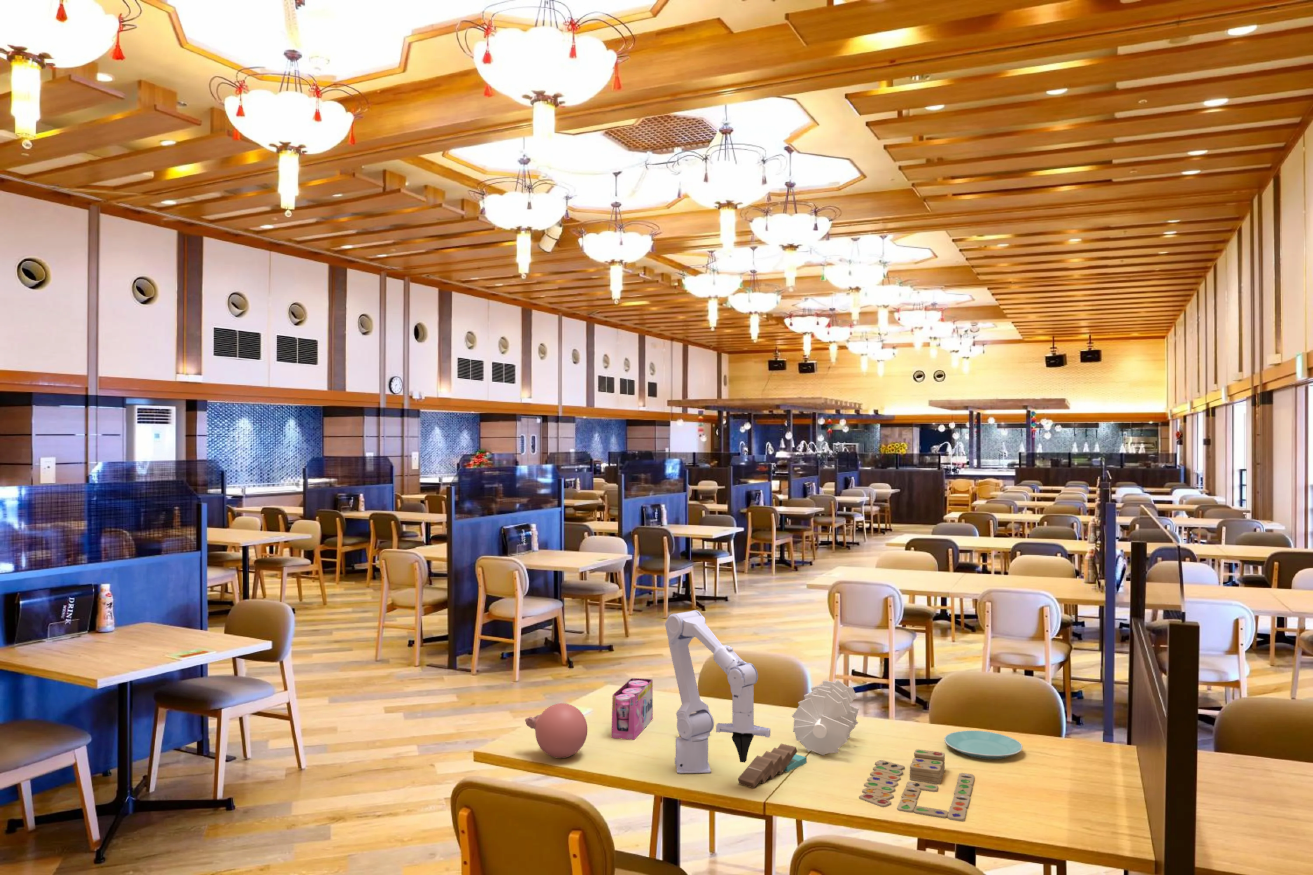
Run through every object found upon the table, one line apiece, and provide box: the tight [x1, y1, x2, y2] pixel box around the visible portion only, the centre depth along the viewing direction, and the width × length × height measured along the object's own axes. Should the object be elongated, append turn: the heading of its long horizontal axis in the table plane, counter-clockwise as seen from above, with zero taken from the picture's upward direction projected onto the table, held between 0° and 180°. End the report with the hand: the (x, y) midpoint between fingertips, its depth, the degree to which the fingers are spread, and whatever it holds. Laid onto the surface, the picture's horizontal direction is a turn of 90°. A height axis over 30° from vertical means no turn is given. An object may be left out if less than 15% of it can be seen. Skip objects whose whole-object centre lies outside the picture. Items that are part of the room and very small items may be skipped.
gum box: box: [610, 677, 654, 741], centre depth 281 cm, size 24×8×14 cm, turn 165°
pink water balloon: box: [524, 702, 588, 759], centre depth 256 cm, size 15×20×15 cm
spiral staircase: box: [791, 679, 859, 757], centre depth 265 cm, size 18×18×25 cm
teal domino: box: [783, 753, 808, 773], centre depth 248 cm, size 2×5×10 cm
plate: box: [943, 730, 1023, 760], centre depth 260 cm, size 22×22×3 cm
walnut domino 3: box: [768, 747, 790, 780], centre depth 241 cm, size 2×5×10 cm
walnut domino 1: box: [737, 755, 773, 789], centre depth 235 cm, size 2×5×10 cm
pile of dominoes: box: [858, 748, 975, 822], centre depth 230 cm, size 35×27×6 cm
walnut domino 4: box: [776, 743, 798, 776], centre depth 245 cm, size 2×5×10 cm
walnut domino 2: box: [759, 750, 782, 784], centre depth 238 cm, size 2×5×10 cm
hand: (743, 760), depth 231 cm, fingers closed
